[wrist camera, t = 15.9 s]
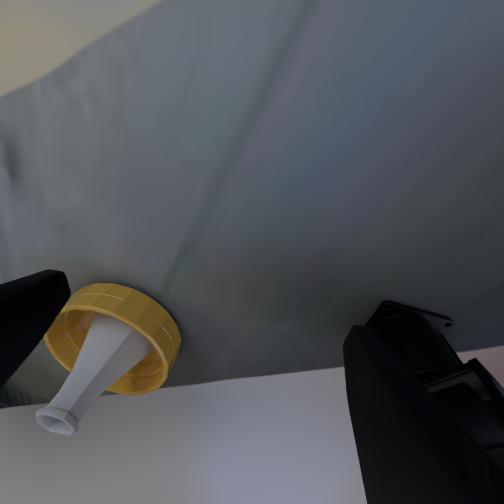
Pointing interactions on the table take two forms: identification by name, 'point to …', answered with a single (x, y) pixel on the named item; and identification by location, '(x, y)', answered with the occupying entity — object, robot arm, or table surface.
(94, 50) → the table surface
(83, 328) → the bowl
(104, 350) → the flask
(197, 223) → the table surface
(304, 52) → the table surface
